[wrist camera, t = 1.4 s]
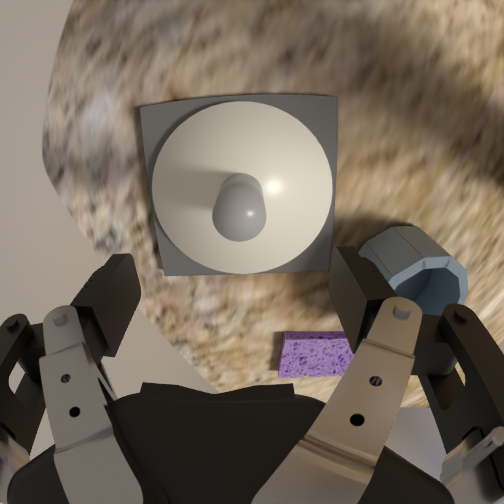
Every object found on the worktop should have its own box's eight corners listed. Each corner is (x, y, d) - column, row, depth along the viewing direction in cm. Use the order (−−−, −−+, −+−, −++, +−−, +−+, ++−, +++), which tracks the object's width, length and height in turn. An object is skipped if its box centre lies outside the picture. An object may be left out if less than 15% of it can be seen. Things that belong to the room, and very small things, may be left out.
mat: (333, 97, 19) (337, 97, 18) (326, 264, 26) (328, 270, 25) (144, 107, 19) (139, 107, 18) (167, 270, 26) (164, 276, 25)
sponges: (283, 327, 31) (285, 339, 29) (384, 326, 31) (389, 336, 29) (276, 367, 34) (277, 379, 32) (367, 364, 34) (370, 374, 33)
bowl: (444, 224, 24) (481, 254, 18) (420, 309, 29) (444, 346, 24) (350, 224, 24) (379, 260, 19) (336, 319, 29) (352, 364, 24)
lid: (331, 102, 19) (358, 99, 13) (324, 265, 25) (341, 305, 20) (146, 112, 19) (113, 113, 14) (168, 271, 25) (151, 311, 20)
